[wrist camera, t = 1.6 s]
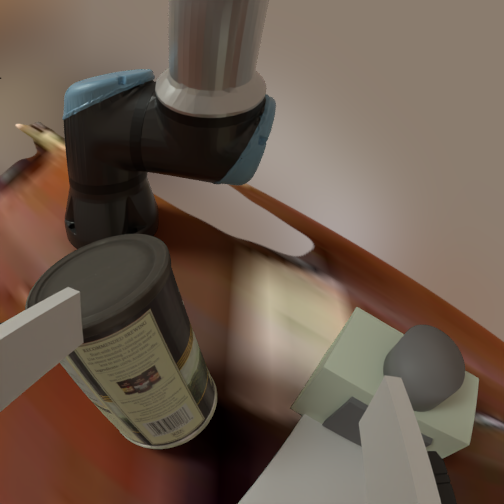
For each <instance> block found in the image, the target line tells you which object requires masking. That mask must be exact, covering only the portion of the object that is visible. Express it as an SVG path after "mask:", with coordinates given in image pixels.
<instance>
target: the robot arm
mask: <svg viewBox="0 0 504 504" xmlns="http://www.w3.org/2000/svg"><path fill="white" fill-rule="evenodd" d="M268 2H269V0H169V68H168V69H166V70H165V71H164V72H163V73H162V74H161V75H160V76H159V78H158V80H157V81H156V82H154V81H153V79H154V75H153V71H152V70H149V69H148V70H145V69H144V70H143V69H141V70H128V71H122V72H115V73H110V74H105V75H100V76H96V77H92V78H88V79H85V80H82V81H79V82H76V83H74V84H73V85H71V86H70V87H69V88H68V90H67V91H66V94H65V100H64V115H63V120H64V134H65V146H66V157H67V166H68V175H69V183H70V189H69V195H68V201H67V207H66V213H65V228H66V233H67V237H68V239H69V241H70V243H71V244H72V245H73V246H74V247H75V248H77V249H79V248H81V247H83V246H86V245H88V244H91V243H93V242H96V241H99V240H102V239H105V238H109V237H113V236H118V235H125V234H145V235H150V236H153V235H154V234H155V232H156V230H157V228H158V207H157V204H156V201H155V198H154V195H153V193H152V190H151V187H150V184H149V181H148V178H147V172H152V173H159V174H164V175H171V176H176V177H182V178H188V179H194V180H199V181H205V182H211V183H214V184H221V183H222V184H230V185H243V184H245V183H247V182H248V181H250V180H251V178H252V177H253V175H254V174H255V172H256V170H257V168H258V166H259V163H260V161H261V158H262V156H263V153H264V150H265V147H266V141H267V140H268V137H269V134H270V132H271V128H272V124H273V120H274V115H275V108H276V103H275V100H274V99H273V98H272V97H269V96H268V95H266V84H265V81H264V79H263V78H262V76H261V75H260V74H259V73H258V72H257V71H256V70H255V68H256V63H257V58H258V52H259V47H260V42H261V37H262V32H263V27H264V22H265V17H266V12H267V7H268ZM82 343H84V342H83V331H82V319H81V303H80V292H79V291H77V290H74V289H72V288H70V287H67V288H65V289H63V290H61V291H59V292H58V293H56V294H54V295H52V296H50V297H48V298H46V299H45V300H43V301H41V302H39V303H37V304H35V305H34V306H32V307H30V308H28V309H26V310H25V311H23V312H21V313H19V314H18V315H16V316H14V317H12V318H11V319H9V320H7V321H5V322H3V323H0V412H1V411H2V410H3V409H4V408H5V407H7V406H8V405H9V404H10V403H11V402H12V401H14V400H15V399H16V398H17V397H18V396H19V395H21V394H22V393H23V392H24V391H25V390H26V389H28V388H29V387H30V386H31V385H32V384H34V383H35V382H36V381H37V380H38V379H40V378H41V377H42V376H43V375H44V374H46V373H47V372H48V371H49V370H50V369H52V368H53V367H54V366H55V365H57V364H58V363H59V362H60V361H61V360H63V359H64V358H65V357H66V356H68V355H69V354H70V353H71V352H73V351H74V350H75V349H76V348H77V347H79V346H80V345H81V344H82ZM359 430H360V437H361V445H362V454H363V463H364V473H365V483H366V495H367V504H457V503H456V499H455V496H454V492H453V489H452V485H451V484H450V479H449V476H448V475H447V473H448V472H447V469H446V466H445V463H444V461H443V459H442V458H441V457H440V456H439V454H438V453H437V452H436V451H427V450H426V447H425V444H424V441H423V438H422V435H421V432H420V429H419V426H418V423H417V420H416V417H415V414H414V411H413V408H412V405H411V403H410V400H409V397H408V394H407V392H406V389H405V386H404V384H403V381H402V379H401V378H400V377H393V376H386V375H385V376H384V378H383V380H382V382H381V383H380V385H379V387H378V389H377V391H376V393H375V395H374V397H373V399H372V400H371V402H370V404H369V406H368V408H367V409H366V411H365V413H364V414H363V416H362V418H361V420H360V421H359Z"/></svg>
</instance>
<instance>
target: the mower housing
mask: <svg viewBox="0 0 504 504" xmlns="http://www.w3.org/2000/svg"><path fill="white" fill-rule="evenodd" d="M385 375H386V376H393V377H400V378H401V379H402V381H403V384H404V386H405V389H406V392H407V394H408V397H409V400H410V403H411V405H412V408H413V411H414V414H415V417H416V420H417V423H418V426H419V429H420V432H421V435H422V438H423V441H424V444H425V447H426V450H427V451H436V452H437V453H438V454H439V456H440V457H441V458H442V459H443V458H445V457H447V456H449V455H451V454H453V453H455V452H457V451H459V450H461V449H463V448H465V447H467V446H468V445H470V440H471V435H472V429H473V423H474V417H475V410H476V402H477V394H478V383H479V378H477V377H475V376H474V375H472V374H470V373H469V372H467V371H465V364H464V360H463V357H462V355H461V352H460V350H459V349H458V347H457V346H456V344H455V343H454V342H453V341H452V339H451V338H450V337H449V336H448V335H446V334H445V333H444V332H442V331H441V330H439V329H437V328H435V327H432V326H429V325H417V326H414V327H412V328H410V329H409V330H408V331H407V332H406V333H405V334H402V333H401V332H399V331H397V330H396V329H394V328H392V327H390V326H389V325H387V324H385V323H384V322H382V321H380V320H379V319H377V318H375V317H373V316H372V315H370V314H368V313H367V312H365V311H363V310H361V309H360V308H358V307H356V309H355V310H354V312H353V313H352V315H351V316H350V318H349V320H348V321H347V323H346V324H345V326H344V327H343V329H342V330H341V332H340V333H339V335H338V336H337V338H336V339H335V341H334V342H333V344H332V345H331V346H330V348H329V349H328V351H327V352H326V354H325V355H324V356H323V358H322V360H321V361H320V363H319V365H318V366H317V368H316V369H315V371H314V373H313V374H312V376H311V377H310V379H309V381H308V382H307V384H306V385H305V387H304V388H303V390H302V391H301V393H300V394H299V396H298V397H297V399H296V400H295V402H294V403H293V405H292V406H291V409H292V410H294V411H295V412H297V413H299V414H300V415H302V417H301V419H300V420H299V422H298V423H297V425H296V426H295V428H294V429H293V431H292V432H291V434H290V435H289V437H288V438H287V440H286V441H285V442H284V444H283V445H282V447H281V448H280V450H279V451H278V452H277V454H276V455H275V456H274V458H273V459H272V461H271V462H270V463H269V465H268V466H267V467H266V469H265V470H264V471H263V473H262V474H261V475H260V477H259V478H258V479H257V480H256V482H255V483H254V484H253V485H252V487H251V488H250V489H249V490H248V492H247V493H246V494H245V495H244V497H243V498H242V499H241V500H240V501H239V503H238V504H367V495H366V483H365V473H364V463H363V454H362V445H361V437H360V430H359V421H360V420H361V418H362V416H363V414H364V413H365V411H366V409H367V408H368V406H369V404H370V402H371V400H372V399H373V397H374V395H375V393H376V391H377V389H378V387H379V385H380V383H381V382H382V380H383V378H384V376H385Z"/></svg>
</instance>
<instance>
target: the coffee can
mask: <svg viewBox="0 0 504 504" xmlns="http://www.w3.org/2000/svg"><path fill="white" fill-rule="evenodd" d="M67 287H70V288H72V289H74V290H77V291H79V292H80V303H81V319H82V331H83V342H84V343H82V344H81V345H80V346H79V347H77V348H76V349H75V350H74V351H73V352H71V353H70V354H69V355H68V356H66V357H65V358H64V359H63V360H61V361H60V363H61V365H62V366H63V367H64V368H65V370H66V371H67V372H68V373H69V375H70V376H71V377H72V378H73V380H74V381H75V382H76V383H77V385H78V386H79V387H80V388H81V389H82V390H83V392H84V393H85V394H86V395H87V396H88V398H89V399H90V400H91V401H92V402H93V403H94V404H95V405H96V406H97V407H98V409H99V410H100V411H101V412H102V413H103V414H104V415H105V416H106V417H107V418H108V419H109V420H110V421H111V422H112V423H113V424H114V425H115V426H116V427H117V428H118V430H119V431H120V432H121V433H122V435H123V436H125V437H126V438H127V439H128V440H129V441H131V442H133V443H134V444H136V445H139V446H142V447H145V448H150V449H168V448H172V447H175V446H178V445H181V444H184V443H186V442H188V441H190V440H191V439H193V438H194V437H196V436H197V435H198V434H199V433H200V432H201V431H202V430H203V429H204V428H205V427H206V426H207V425H208V423H209V422H210V420H211V418H212V416H213V414H214V411H215V408H216V404H217V389H216V385H215V383H214V381H213V379H212V377H211V375H210V373H209V371H208V368H207V366H206V363H205V361H204V358H203V356H202V353H201V351H200V348H199V345H198V343H197V340H196V338H195V335H194V332H193V330H192V327H191V324H190V321H189V318H188V316H187V313H186V310H185V307H184V304H183V301H182V298H181V295H180V292H179V289H178V287H177V284H176V281H175V277H174V275H173V271H172V268H171V258H170V254H169V250H168V248H167V246H166V245H165V243H164V242H163V241H161V240H160V239H158V238H156V237H154V236H150V235H145V234H125V235H118V236H113V237H109V238H105V239H102V240H99V241H96V242H93V243H91V244H88V245H86V246H83V247H81V248H79V249H77V250H75V251H74V252H72V253H70V254H68V255H67V256H65V257H64V258H62V259H61V260H59V261H58V262H57V263H55V264H54V265H53V266H52V267H50V268H49V269H48V270H47V271H46V272H45V273H44V274H43V275H42V276H41V277H40V278H39V279H38V281H37V282H36V283H35V285H34V286H33V288H32V289H31V291H30V293H29V296H28V298H27V301H26V307H25V310H26V309H28V308H30V307H32V306H34V305H35V304H37V303H39V302H41V301H43V300H45V299H46V298H48V297H50V296H52V295H54V294H56V293H58V292H59V291H61V290H63V289H65V288H67Z"/></svg>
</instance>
